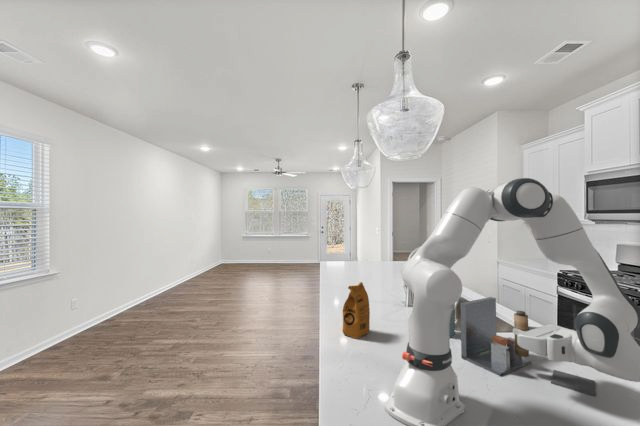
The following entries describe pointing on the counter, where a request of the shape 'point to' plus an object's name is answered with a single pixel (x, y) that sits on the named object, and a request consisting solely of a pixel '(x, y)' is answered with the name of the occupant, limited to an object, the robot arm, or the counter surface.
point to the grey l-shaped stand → (486, 339)
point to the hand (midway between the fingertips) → (518, 329)
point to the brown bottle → (522, 324)
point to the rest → (573, 382)
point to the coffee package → (356, 312)
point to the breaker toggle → (499, 340)
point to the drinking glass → (452, 323)
